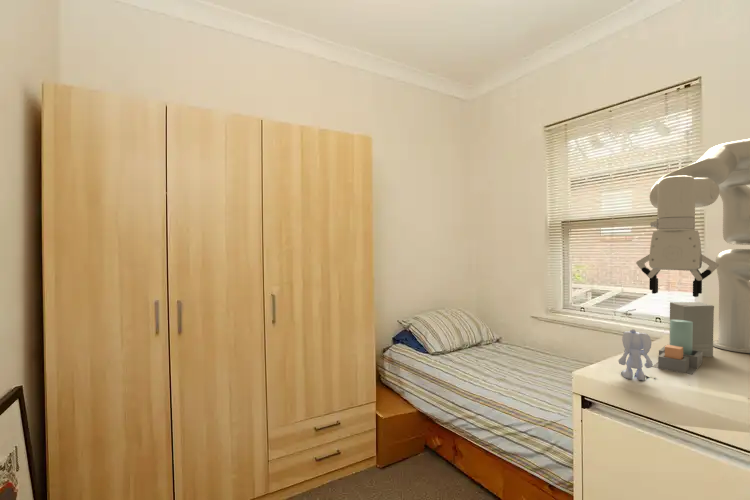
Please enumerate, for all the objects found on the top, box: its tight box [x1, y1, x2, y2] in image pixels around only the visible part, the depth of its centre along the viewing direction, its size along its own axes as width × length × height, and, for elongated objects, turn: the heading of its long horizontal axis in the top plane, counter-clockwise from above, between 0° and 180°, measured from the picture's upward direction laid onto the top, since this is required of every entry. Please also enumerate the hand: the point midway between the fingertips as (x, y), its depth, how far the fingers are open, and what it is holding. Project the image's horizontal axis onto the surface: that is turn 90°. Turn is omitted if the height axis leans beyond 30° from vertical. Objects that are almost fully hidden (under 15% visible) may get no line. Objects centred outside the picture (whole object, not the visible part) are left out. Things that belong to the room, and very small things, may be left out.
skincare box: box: [669, 301, 715, 358], centre depth 111 cm, size 8×7×16 cm
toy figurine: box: [617, 328, 654, 382], centre depth 92 cm, size 7×6×12 cm
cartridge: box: [669, 319, 693, 355], centre depth 102 cm, size 5×5×11 cm
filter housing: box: [651, 345, 703, 376], centre depth 100 cm, size 15×8×4 cm, turn 132°
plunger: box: [664, 344, 683, 360], centre depth 96 cm, size 3×3×5 cm
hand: (674, 294), depth 96 cm, fingers open, 7 cm apart
